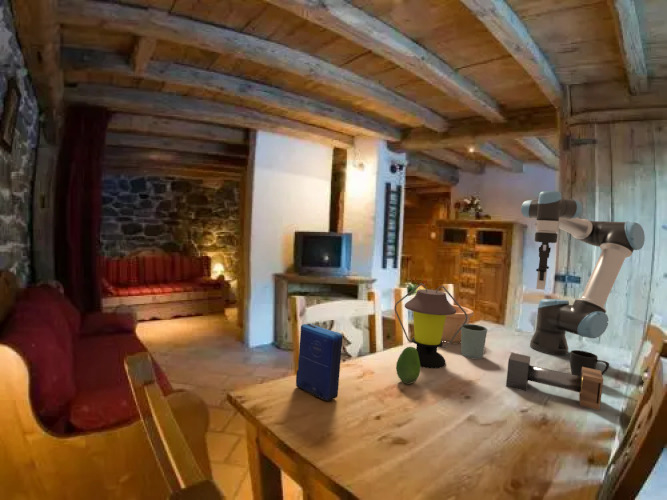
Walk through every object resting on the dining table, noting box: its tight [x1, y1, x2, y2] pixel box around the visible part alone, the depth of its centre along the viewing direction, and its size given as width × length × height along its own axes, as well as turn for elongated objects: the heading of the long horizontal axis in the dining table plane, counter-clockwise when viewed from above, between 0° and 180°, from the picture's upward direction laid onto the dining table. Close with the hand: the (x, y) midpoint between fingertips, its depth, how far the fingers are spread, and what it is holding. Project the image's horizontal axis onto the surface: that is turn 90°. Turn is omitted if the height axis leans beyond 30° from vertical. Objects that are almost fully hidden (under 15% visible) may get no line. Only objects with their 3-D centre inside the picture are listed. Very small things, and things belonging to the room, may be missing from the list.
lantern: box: [393, 282, 467, 369], centre depth 147 cm, size 25×19×30 cm
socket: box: [578, 367, 604, 411], centre depth 120 cm, size 9×5×10 cm, turn 149°
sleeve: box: [505, 352, 531, 392], centre depth 130 cm, size 8×6×9 cm
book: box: [295, 323, 343, 402], centre depth 113 cm, size 14×5×20 cm, turn 49°
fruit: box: [395, 346, 421, 384], centre depth 126 cm, size 8×8×12 cm
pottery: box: [441, 304, 474, 344], centre depth 181 cm, size 22×22×14 cm
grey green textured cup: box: [460, 323, 488, 360], centre depth 158 cm, size 10×10×12 cm
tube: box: [527, 365, 583, 394], centre depth 125 cm, size 20×5×5 cm, turn 59°
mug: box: [569, 349, 610, 376], centre depth 137 cm, size 8×12×10 cm
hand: (541, 287), depth 148 cm, fingers open, 13 cm apart
